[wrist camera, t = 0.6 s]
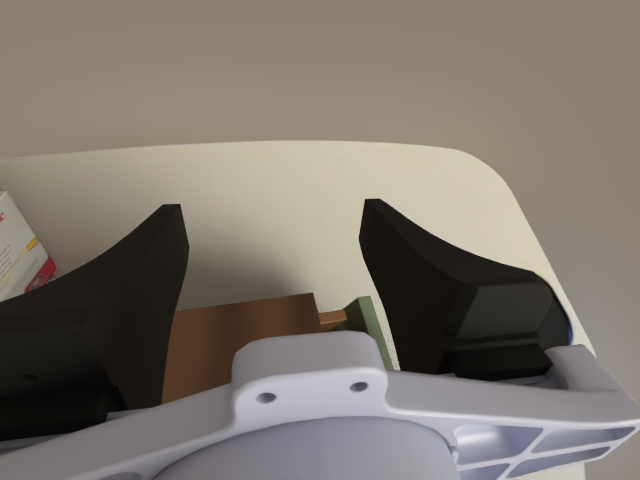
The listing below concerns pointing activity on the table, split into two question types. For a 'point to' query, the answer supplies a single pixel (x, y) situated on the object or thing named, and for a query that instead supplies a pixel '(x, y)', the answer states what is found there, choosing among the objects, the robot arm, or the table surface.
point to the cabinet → (228, 339)
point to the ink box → (20, 252)
